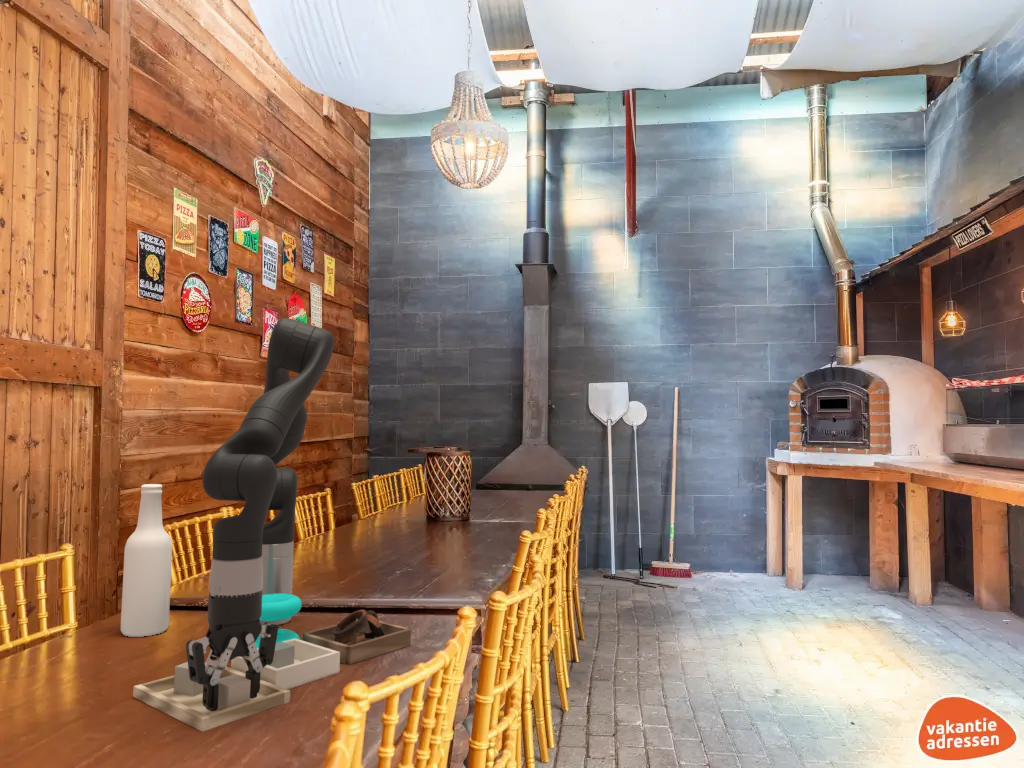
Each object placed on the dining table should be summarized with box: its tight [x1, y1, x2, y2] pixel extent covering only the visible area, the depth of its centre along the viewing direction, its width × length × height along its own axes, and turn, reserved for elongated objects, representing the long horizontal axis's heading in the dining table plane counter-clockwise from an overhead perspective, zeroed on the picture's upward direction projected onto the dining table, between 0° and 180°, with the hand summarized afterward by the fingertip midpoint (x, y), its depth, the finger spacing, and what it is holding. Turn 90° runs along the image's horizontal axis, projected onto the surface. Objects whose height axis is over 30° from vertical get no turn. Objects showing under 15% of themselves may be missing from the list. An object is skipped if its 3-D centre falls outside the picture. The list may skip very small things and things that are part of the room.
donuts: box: [255, 594, 303, 648], centre depth 135 cm, size 10×10×10 cm
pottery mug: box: [333, 609, 385, 645], centre depth 139 cm, size 12×10×8 cm
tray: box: [132, 666, 291, 733], centre depth 109 cm, size 20×14×2 cm
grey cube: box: [269, 642, 295, 669], centre depth 122 cm, size 4×4×4 cm
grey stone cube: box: [174, 661, 206, 696], centre depth 112 cm, size 4×4×4 cm
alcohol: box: [120, 483, 173, 638], centre depth 147 cm, size 9×9×30 cm
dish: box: [230, 638, 341, 690], centre depth 121 cm, size 13×13×4 cm
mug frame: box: [302, 619, 412, 665], centre depth 138 cm, size 14×16×3 cm
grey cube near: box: [217, 674, 251, 711], centre depth 106 cm, size 4×4×4 cm
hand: (231, 702), depth 106 cm, fingers open, 5 cm apart
